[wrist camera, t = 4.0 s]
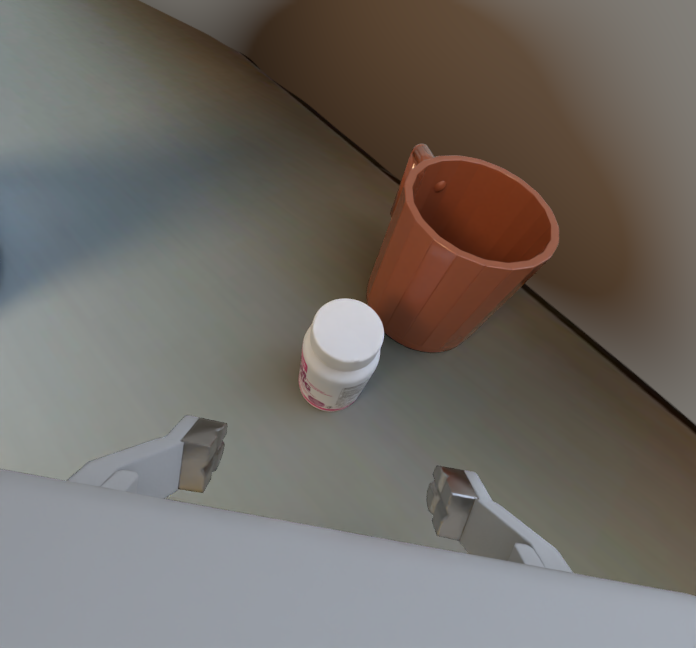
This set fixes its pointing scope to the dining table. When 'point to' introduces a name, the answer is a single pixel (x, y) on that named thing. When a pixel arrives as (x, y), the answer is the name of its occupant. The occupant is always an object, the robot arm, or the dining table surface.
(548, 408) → the dining table surface
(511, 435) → the dining table surface
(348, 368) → the pill bottle
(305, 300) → the dining table surface
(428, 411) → the dining table surface
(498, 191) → the reddish brown mug
